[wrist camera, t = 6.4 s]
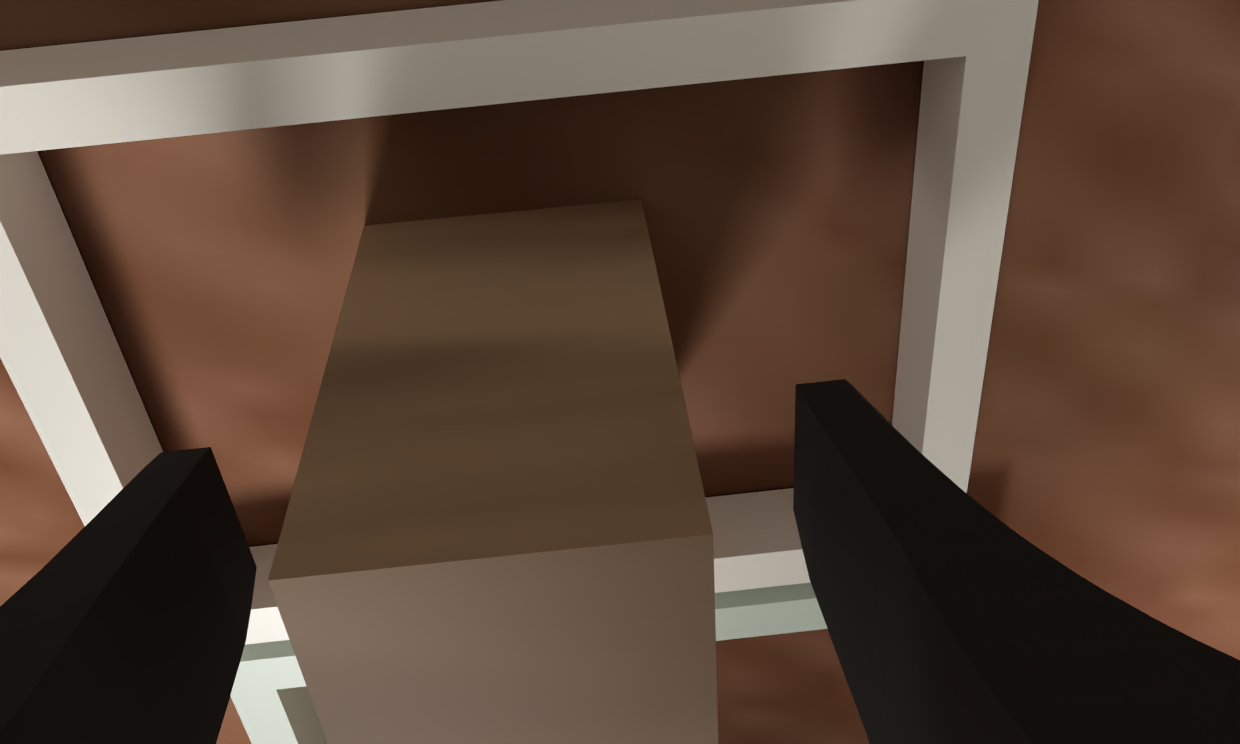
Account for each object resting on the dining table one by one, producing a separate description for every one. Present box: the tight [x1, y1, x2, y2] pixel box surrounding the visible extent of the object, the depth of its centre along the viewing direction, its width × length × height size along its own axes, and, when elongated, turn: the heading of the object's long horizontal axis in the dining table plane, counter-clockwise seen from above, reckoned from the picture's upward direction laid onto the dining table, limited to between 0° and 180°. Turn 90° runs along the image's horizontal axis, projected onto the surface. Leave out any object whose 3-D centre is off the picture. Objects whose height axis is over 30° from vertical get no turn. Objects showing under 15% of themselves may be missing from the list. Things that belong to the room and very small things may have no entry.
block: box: [268, 199, 719, 744], centre depth 13 cm, size 4×4×7 cm
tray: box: [0, 0, 1039, 645], centre depth 16 cm, size 10×14×2 cm
